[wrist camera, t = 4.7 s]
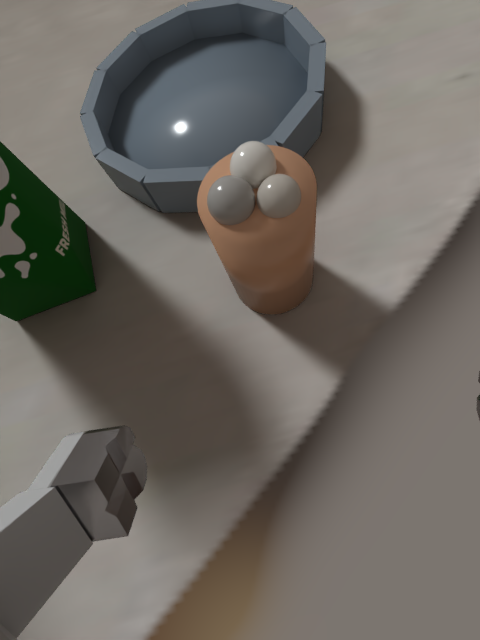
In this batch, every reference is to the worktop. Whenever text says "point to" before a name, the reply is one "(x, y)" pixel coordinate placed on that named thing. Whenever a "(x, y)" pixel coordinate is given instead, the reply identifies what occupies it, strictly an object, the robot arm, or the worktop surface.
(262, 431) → the worktop surface
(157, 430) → the worktop surface
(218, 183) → the pebble cup
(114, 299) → the worktop surface
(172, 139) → the slate bowl
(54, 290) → the milk carton
